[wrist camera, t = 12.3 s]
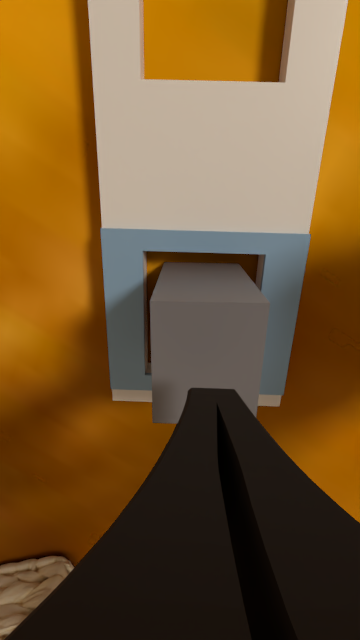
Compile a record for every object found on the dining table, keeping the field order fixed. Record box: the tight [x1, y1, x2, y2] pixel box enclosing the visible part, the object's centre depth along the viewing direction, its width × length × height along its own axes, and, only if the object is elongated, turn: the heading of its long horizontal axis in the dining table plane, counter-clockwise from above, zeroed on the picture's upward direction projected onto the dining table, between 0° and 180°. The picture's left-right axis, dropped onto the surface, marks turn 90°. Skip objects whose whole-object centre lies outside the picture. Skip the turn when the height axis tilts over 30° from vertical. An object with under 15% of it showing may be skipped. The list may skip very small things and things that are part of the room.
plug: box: [150, 262, 270, 423], centre depth 15 cm, size 4×5×7 cm
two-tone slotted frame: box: [88, 0, 348, 407], centre depth 15 cm, size 10×25×2 cm, turn 179°
